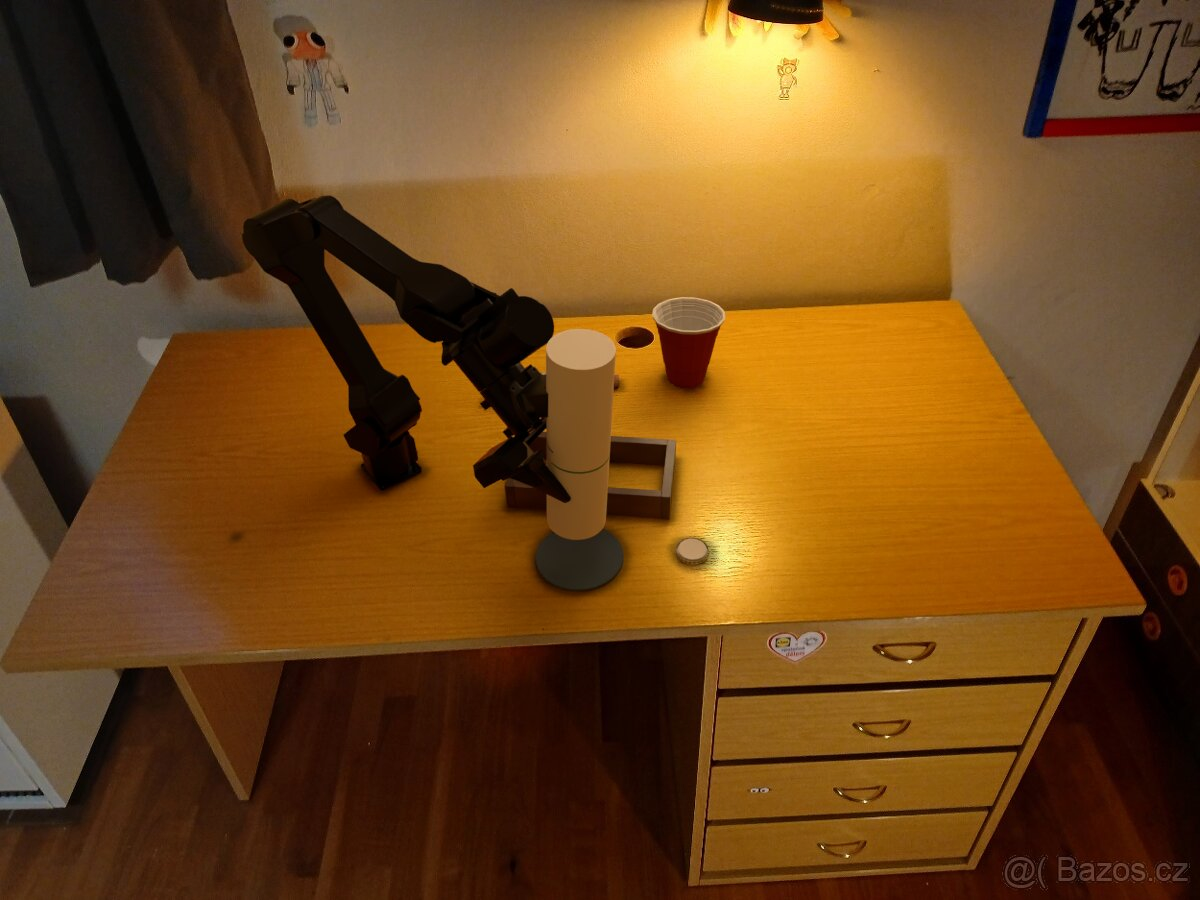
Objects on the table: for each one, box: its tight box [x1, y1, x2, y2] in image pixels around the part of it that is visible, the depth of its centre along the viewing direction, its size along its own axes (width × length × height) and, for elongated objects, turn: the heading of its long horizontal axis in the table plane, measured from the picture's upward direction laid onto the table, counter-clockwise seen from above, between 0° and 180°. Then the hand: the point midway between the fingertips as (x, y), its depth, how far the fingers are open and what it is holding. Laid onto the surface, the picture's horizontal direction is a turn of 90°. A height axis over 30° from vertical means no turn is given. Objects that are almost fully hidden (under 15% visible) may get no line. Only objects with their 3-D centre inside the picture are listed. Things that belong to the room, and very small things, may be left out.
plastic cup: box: [652, 296, 726, 390], centre depth 138 cm, size 11×11×12 cm
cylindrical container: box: [545, 328, 617, 540], centre depth 101 cm, size 7×7×25 cm
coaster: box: [535, 528, 625, 593], centre depth 114 cm, size 11×11×1 cm
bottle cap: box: [675, 537, 709, 565], centre depth 114 cm, size 4×4×1 cm
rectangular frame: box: [504, 431, 677, 520], centre depth 123 cm, size 22×11×4 cm, turn 83°
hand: (584, 483), depth 105 cm, fingers closed on cylindrical container, 6 cm apart
